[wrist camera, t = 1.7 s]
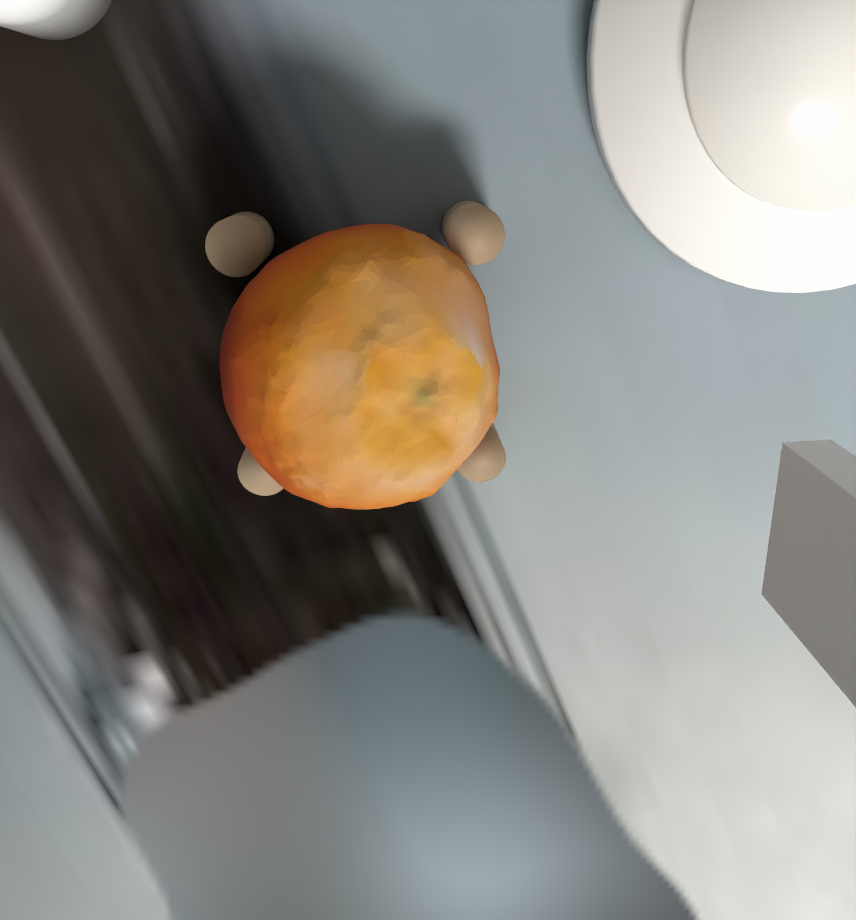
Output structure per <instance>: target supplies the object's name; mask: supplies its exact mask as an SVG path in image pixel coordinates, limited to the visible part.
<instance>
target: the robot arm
mask: <svg viewBox="0 0 856 920" xmlns="http://www.w3.org/2000/svg"><path fill="white" fill-rule="evenodd" d="M762 595H763V596H764V598H765V599H766V600H767V601H768V602H769V604H770V605H771V606H772V607H773V608H774V610H775V611H776V612H777V613H778V614H779V616H780V617H781V618H782V619H783V620H784V622H785V623H786V624H787V625H788V626H789V628H790V629H791V630H792V631H793V632H794V634H795V635H796V636H797V637H798V638H799V640H800V641H801V642H802V643H803V645H804V646H805V647H806V648H807V649H808V651H809V652H810V653H811V654H812V655H813V657H814V658H815V659H816V660H817V661H818V663H819V664H820V665H821V666H822V667H823V669H824V670H825V671H826V672H827V673H828V675H829V676H830V677H831V678H832V679H833V681H834V682H835V683H836V684H837V685H838V687H839V688H840V689H841V690H842V691H843V693H844V694H845V695H846V696H847V697H848V699H849V700H850V701H851V702H852V703H853V705H854V706H855V707H856V456H854V455H853V454H851V453H850V452H848V451H847V450H845V449H844V448H842V447H841V446H839V445H838V444H836V443H835V442H833V441H832V440H818V441H801V442H783V443H782V450H781V457H780V464H779V472H778V479H777V486H776V493H775V501H774V508H773V515H772V522H771V530H770V537H769V544H768V552H767V559H766V566H765V573H764V581H763V588H762Z"/></svg>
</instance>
